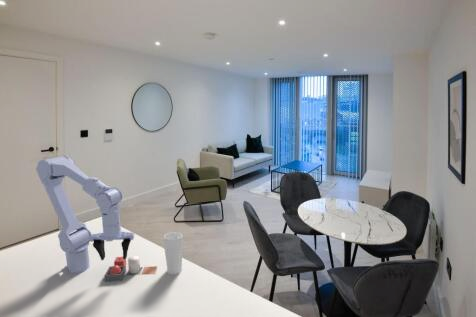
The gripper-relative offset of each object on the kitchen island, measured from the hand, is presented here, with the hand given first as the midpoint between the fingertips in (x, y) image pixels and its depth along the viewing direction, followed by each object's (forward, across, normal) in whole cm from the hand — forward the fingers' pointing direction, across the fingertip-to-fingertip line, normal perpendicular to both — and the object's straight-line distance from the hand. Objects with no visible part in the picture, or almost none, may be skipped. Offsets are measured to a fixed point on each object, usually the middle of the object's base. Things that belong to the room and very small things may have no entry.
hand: (114, 258), depth 108 cm
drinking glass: (+8, +21, +2) cm, 23 cm away
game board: (+8, +6, +3) cm, 10 cm away
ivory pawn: (+7, +6, +3) cm, 10 cm away
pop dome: (+6, 0, 0) cm, 6 cm away
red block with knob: (+7, 0, +6) cm, 10 cm away
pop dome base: (+7, 0, 0) cm, 7 cm away
